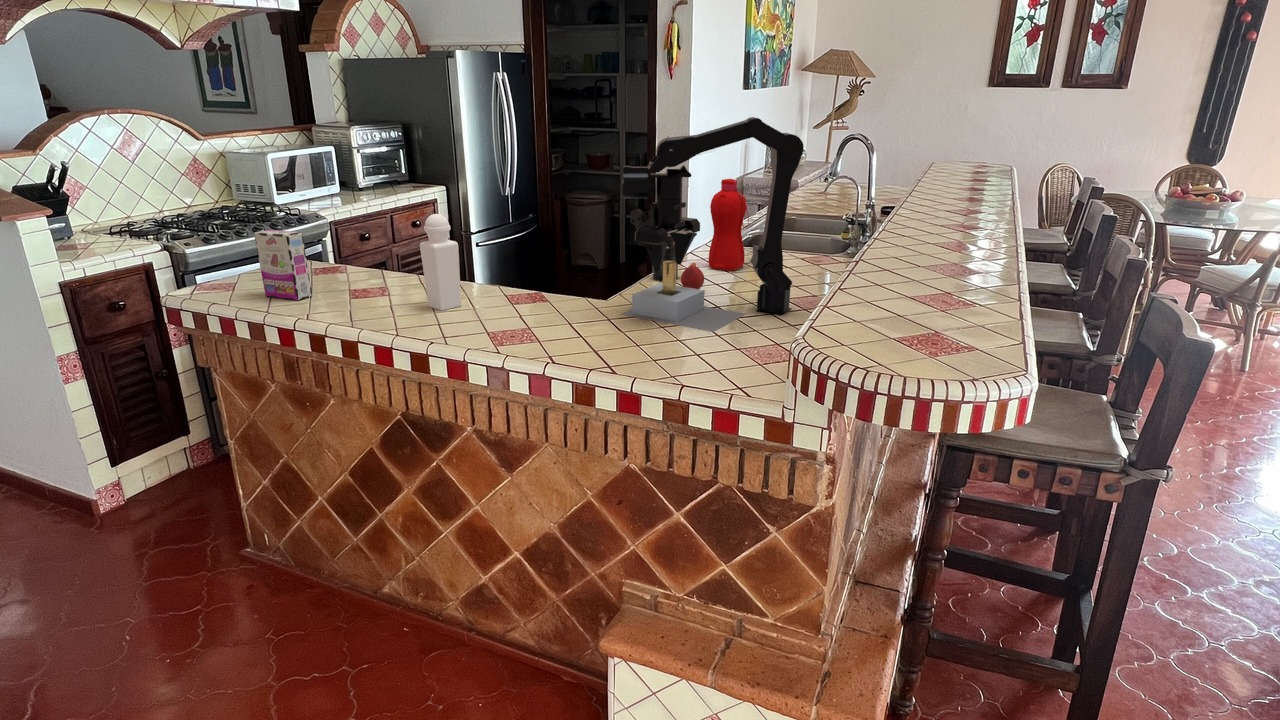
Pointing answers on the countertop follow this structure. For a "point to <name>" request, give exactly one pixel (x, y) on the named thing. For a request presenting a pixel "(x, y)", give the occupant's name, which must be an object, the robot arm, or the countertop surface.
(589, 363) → the countertop surface
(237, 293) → the countertop surface
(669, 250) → the supplement bottle
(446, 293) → the square decanter bottle
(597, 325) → the countertop surface
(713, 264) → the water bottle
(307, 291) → the candy bar box
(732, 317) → the rubber mat
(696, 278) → the onion
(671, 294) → the brass pin
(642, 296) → the socket block
